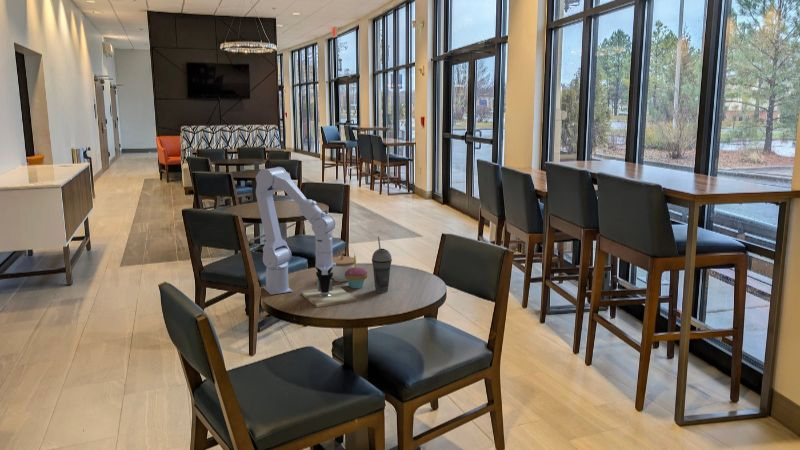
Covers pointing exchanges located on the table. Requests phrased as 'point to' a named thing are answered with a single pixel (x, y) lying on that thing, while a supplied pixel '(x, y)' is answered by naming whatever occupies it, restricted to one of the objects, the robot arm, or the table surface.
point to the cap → (320, 286)
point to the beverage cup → (381, 269)
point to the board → (336, 297)
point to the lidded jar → (341, 267)
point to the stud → (325, 294)
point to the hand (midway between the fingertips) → (324, 289)
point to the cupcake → (355, 276)
